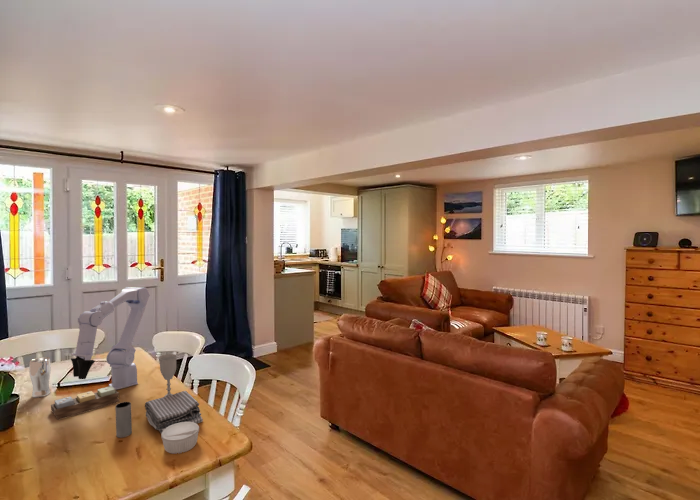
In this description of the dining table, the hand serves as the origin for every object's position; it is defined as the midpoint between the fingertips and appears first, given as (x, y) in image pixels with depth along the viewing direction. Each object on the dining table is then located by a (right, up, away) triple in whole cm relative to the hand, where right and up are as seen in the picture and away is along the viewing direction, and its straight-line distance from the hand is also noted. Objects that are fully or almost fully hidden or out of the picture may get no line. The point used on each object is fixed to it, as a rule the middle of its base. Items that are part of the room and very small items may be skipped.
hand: (79, 377), depth 151 cm
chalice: (+32, -11, +6) cm, 35 cm away
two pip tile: (+2, -9, +1) cm, 9 cm away
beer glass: (-24, -11, +11) cm, 28 cm away
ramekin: (+51, -13, -27) cm, 59 cm away
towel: (+41, -13, -10) cm, 44 cm away
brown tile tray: (+2, -11, +1) cm, 12 cm away
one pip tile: (+7, -9, +6) cm, 12 cm away
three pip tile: (-3, -9, -4) cm, 10 cm away
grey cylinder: (+29, -13, -20) cm, 38 cm away
